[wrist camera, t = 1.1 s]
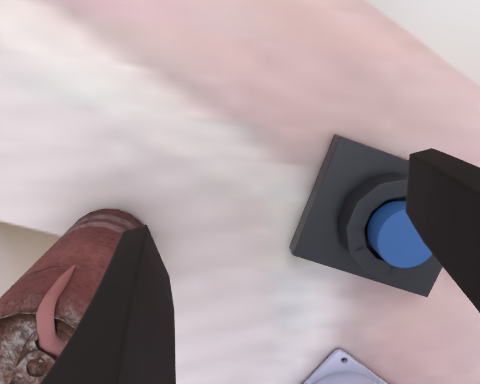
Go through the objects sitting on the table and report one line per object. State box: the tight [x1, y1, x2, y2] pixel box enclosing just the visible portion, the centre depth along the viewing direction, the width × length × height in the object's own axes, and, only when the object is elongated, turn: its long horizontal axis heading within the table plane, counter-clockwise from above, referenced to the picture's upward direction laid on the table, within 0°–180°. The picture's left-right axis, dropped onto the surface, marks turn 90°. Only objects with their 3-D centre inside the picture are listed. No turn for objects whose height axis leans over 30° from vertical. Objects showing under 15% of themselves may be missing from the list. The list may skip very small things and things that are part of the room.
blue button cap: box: [367, 201, 432, 268], centre depth 28 cm, size 4×4×2 cm
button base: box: [289, 134, 443, 297], centre depth 30 cm, size 11×9×4 cm
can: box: [0, 209, 144, 384], centre depth 24 cm, size 6×6×14 cm
